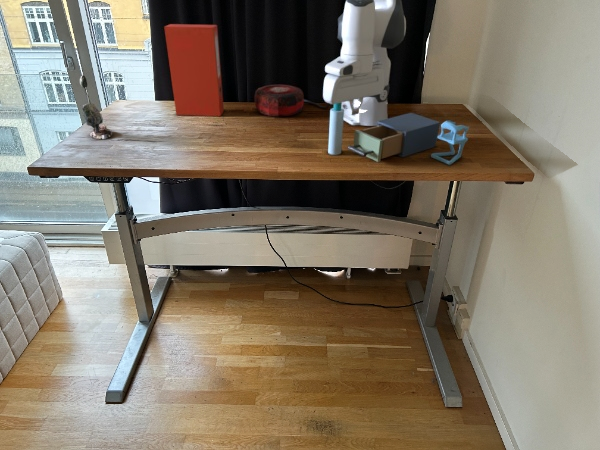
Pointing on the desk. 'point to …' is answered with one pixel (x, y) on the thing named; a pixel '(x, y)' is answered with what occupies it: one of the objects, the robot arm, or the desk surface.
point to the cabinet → (414, 132)
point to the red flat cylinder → (279, 100)
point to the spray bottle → (336, 129)
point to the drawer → (377, 142)
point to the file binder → (195, 69)
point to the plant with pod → (94, 117)
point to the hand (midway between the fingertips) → (353, 114)
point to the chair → (451, 141)
